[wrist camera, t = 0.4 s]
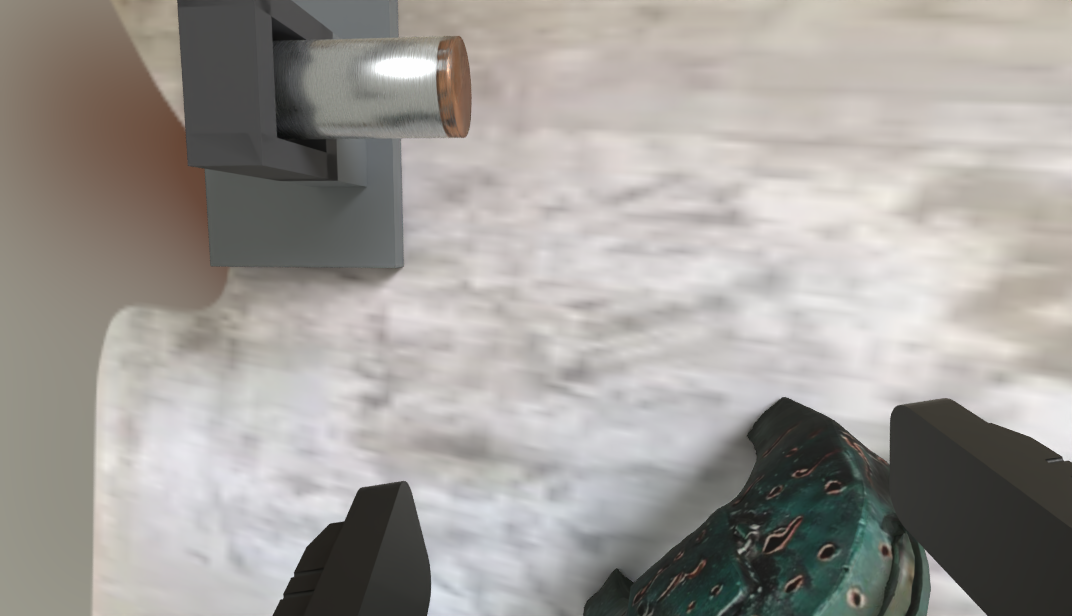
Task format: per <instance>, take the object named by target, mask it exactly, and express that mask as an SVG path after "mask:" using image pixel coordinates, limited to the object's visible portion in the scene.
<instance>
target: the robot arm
mask: <svg viewBox="0 0 1072 616" xmlns="http://www.w3.org/2000/svg"><path fill="white" fill-rule="evenodd" d="M889 488H890V497H891V501H892V504H893V507H894V510H895V512H896V514H897V516H898V518H899V520H900V522H901V523H902V525H903V526H904V527H905V529H906V530H907V531H908V532H909V533H910V534H911V535H912V536H913V537H914V538H915V539H916V540H917V541H918V543H919V544H920V545H921V546H922V547H923V548H924V549H925V550H926V551H927V552H928V553H929V554H930V555H931V556H932V557H933V558H934V559H935V561H936V562H937V563H938V564H939V565H940V566H941V567H942V568H943V569H944V570H945V571H946V572H947V573H948V574H949V575H950V576H951V577H952V579H953V580H954V581H955V582H956V583H957V584H958V585H959V586H960V587H961V588H962V589H963V590H964V591H965V592H966V593H967V594H968V595H969V597H970V598H971V599H972V600H973V601H974V602H975V603H976V604H977V605H978V606H979V607H980V608H981V609H982V610H983V611H984V612H985V613H986V615H987V616H1072V462H1070V461H1064V460H1063V459H1062V456H1060V455H1059V454H1057V453H1055V452H1054V451H1052V450H1051V449H1049V448H1047V447H1046V446H1044V445H1043V444H1041V443H1039V442H1038V441H1036V440H1034V439H1033V438H1031V437H1029V436H1026V435H1023V434H1020V433H1018V432H1015V431H1012V430H1009V429H1007V428H1004V427H1001V426H998V425H995V424H993V423H987V422H986V421H984V420H983V419H981V418H980V417H978V416H976V415H975V414H973V413H972V412H970V411H969V410H967V409H966V408H964V407H963V406H961V405H959V404H958V403H956V402H955V401H953V400H951V399H948V398H942V399H936V400H929V401H923V402H916V403H910V404H903V405H898V406H896V407H895V408H894V409H893V411H892V413H891V418H890V477H889ZM283 595H284V598H283V599H282V600H280V602H279V604H278V606H277V608H276V610H275V612H274V614H273V616H427V613H428V608H429V602H430V596H431V573H430V564H429V559H428V554H427V550H426V546H425V542H424V539H423V535H422V531H421V527H420V523H419V519H418V515H417V511H416V507H415V503H414V499H413V495H412V492H411V489H410V487H409V485H408V483H407V482H406V481H401V482H394V483H388V484H381V485H375V486H369V487H362V488H360V489H359V490H358V492H357V494H356V496H355V498H354V501H353V503H352V505H351V508H350V510H349V512H348V515H347V517H346V519H345V521H344V522H338V523H331V524H329V525H328V526H327V527H326V528H325V529H324V530H323V531H322V532H321V533H320V534H319V535H318V536H317V537H316V538H315V539H314V540H313V541H312V542H311V543H310V544H309V545H308V546H307V547H306V549H305V551H304V553H303V555H302V557H301V560H300V562H299V564H298V566H297V568H296V570H295V572H294V577H292V578H291V580H290V582H289V584H288V586H287V588H286V590H285V592H284V594H283Z"/></svg>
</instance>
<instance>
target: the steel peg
mask: <svg viewBox="0 0 1072 616" xmlns="http://www.w3.org/2000/svg"><path fill="white" fill-rule="evenodd" d="M273 62H274V84H275V105H276V126H277V138H279V139H283V140H292V139H384V138H464V137H466V136H467V134H468V131H469V127H470V120H471V79H470V69H469V62H468V56H467V52H466V48H465V45H464V42H463V40H462V38H461V37H460V36H441V37H402V38H364V39H326V40H287V41H273Z"/></svg>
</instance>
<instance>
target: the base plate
mask: <svg viewBox="0 0 1072 616" xmlns="http://www.w3.org/2000/svg"><path fill="white" fill-rule="evenodd" d="M292 1H293V2H294V3H296V4H297V5H298V6H300V7H301V8H302V9H303V10H305V11H306V12H307V13H309V14H310V15H311V16H313V17H314V18H315V19H316V20H318V21H319V22H320V23H322V24H323V25H324V26H325V27H327V28H328V29H329V30H331V31H332V32H333V39H364V38H398V0H292ZM336 140H337V168H338V181H276V180H270V179H264V178H258V177H252V176H246V175H240V174H234V173H228V172H222V171H216V170H210V169H205V182H206V198H207V215H208V231H209V247H210V264H211V266H230V267H347V268H398V267H404V259H403V215H402V171H401V138H384V139H336Z"/></svg>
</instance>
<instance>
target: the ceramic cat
mask: <svg viewBox="0 0 1072 616" xmlns="http://www.w3.org/2000/svg"><path fill="white" fill-rule="evenodd" d="M747 436H748V438H749V439H750V441H751V442H752V443H753V444H754V446H755V450H756V455H757V459H756V463H755V466H754V468H753V470H752V473H751V475H750V477H749V479H748V481H747V483H746V485H745V486H744V488H743V490H742V491H741V492H740V493H739V495H738V496H737V497H736V498H735V499H734V500H732V501H731V502H730V503H728V504H726V505H725V506H723V507H721V508H719V509H717V510H716V511H715V512H714V513H713V514H712V515H710V516H709V518H708V519H707V520H706V521H705V522H704V523H703V524H702V525H701V526H700V527H699V528H698V529H697V530H696V531H694V532H693V533H691V534H690V535H688V536H687V537H686V538H685V539H684V540H683V541H681V542H680V543H679V544H678V545H676V546H675V547H674V548H672V549H671V550H670V551H669V552H668V553H667V554H666V555H665V556H664V557H662V558H661V559H660V560H659V561H658V562H657V563H655V564H654V565H653V566H652V567H651V568H650V569H648V570H647V571H646V572H645V573H644V574H643V575H642V576H641V577H640V578H639V579H637V580H636V581H635V582H634V583H633V582H632V581H630V580H629V579H628V578H626V577H625V576H624V575H623V574H622V573H620V572H619V570H618V569H617V568H616V569H615V570H614V571H613V572H612V573H611V575H610V576H609V578H608V579H607V581H606V582H605V584H604V585H603V587H602V588H601V589H600V590H599V591H598V592H597V593H596V594H595V595H594V596H592V597H591V598H590V599H589V600H588V601H587V603H586V604H585V607H584V614H583V616H926V615H927V609H928V603H929V597H930V591H931V585H930V574H929V564H928V560H927V557H926V553H925V550H924V548H923V547H922V546H921V545H920V544H919V543H918V541H917V540H916V539H915V538H914V537H913V536H912V535H911V534H910V533H909V532H908V531H907V530H906V529H905V527H904V526H903V525H902V523H901V522H900V520H899V518H898V516H897V514H896V512H895V510H894V507H893V504H892V501H891V497H890V488H889V477H890V465H889V464H888V463H887V462H886V461H885V460H884V459H882V458H881V457H879V456H878V455H876V454H875V453H873V452H872V451H870V450H869V449H868V448H867V447H865V446H864V445H863V444H862V443H861V442H859V441H858V440H857V439H856V438H855V437H854V436H852V435H851V434H850V433H849V432H848V431H847V430H845V429H844V428H843V427H842V426H841V425H840V424H838V423H837V422H835V421H834V420H832V419H831V418H829V417H827V416H825V415H823V414H822V413H819V412H817V411H815V410H813V409H811V408H809V407H806V406H804V405H802V404H800V403H797V402H795V401H793V400H791V399H789V398H786V397H782V398H781V399H780V400H779V401H778V402H777V403H775V404H774V405H773V406H772V407H770V408H769V409H768V410H767V411H765V412H764V413H763V415H762V416H761V417H760V418H759V419H758V421H757V422H756V423H755V424H754V426H753V428H752V429H751V430H750V432H749V433H748V435H747Z"/></svg>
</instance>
